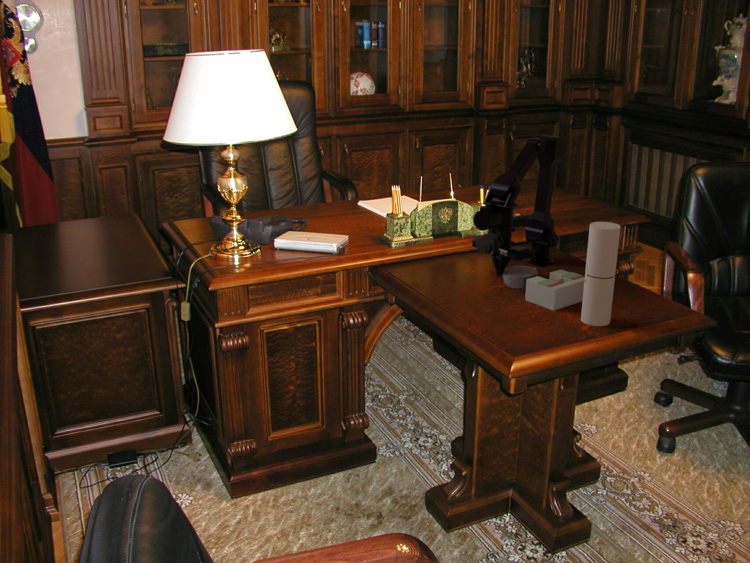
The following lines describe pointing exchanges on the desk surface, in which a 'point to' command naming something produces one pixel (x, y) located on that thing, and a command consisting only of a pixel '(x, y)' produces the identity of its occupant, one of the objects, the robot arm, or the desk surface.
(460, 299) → the desk surface
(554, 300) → the block
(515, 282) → the stone block
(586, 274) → the cylindrical container
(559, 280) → the black rectangular block
